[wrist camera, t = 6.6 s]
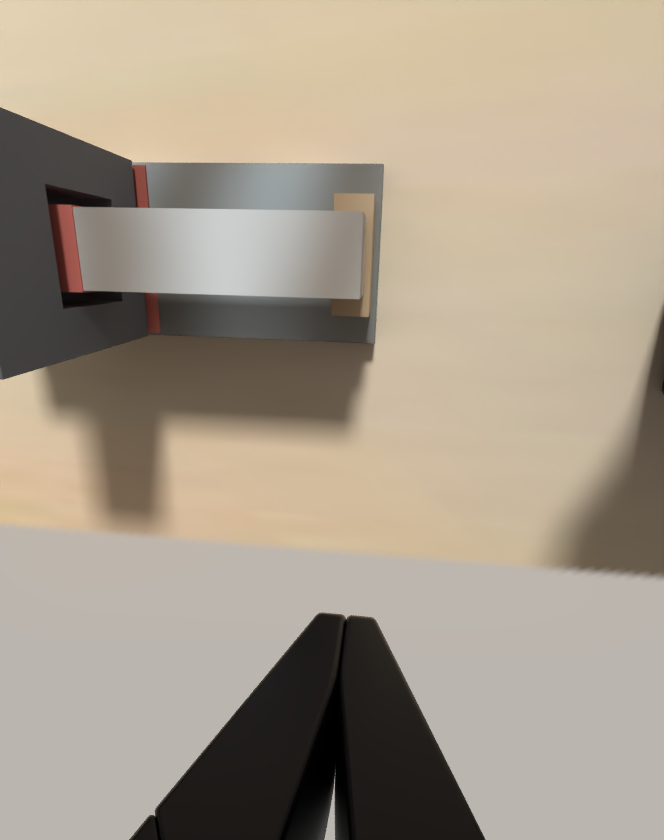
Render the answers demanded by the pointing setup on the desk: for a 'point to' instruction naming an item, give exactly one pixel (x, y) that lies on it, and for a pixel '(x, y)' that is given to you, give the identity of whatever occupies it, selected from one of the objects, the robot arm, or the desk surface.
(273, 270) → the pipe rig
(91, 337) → the collar
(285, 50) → the desk surface
